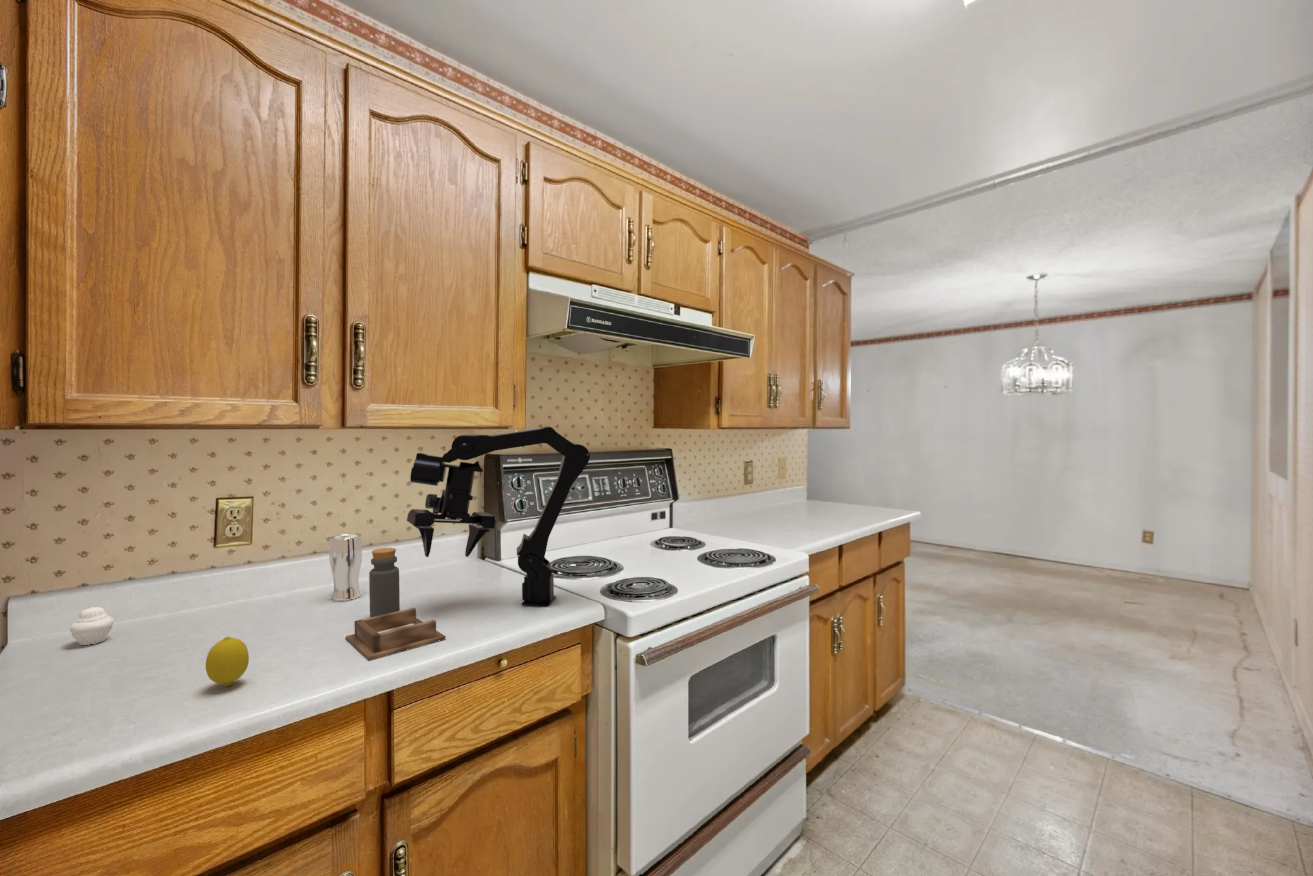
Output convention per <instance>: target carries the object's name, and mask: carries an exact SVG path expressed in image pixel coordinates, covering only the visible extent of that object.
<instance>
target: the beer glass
mask: <svg viewBox="0 0 1313 876" xmlns="http://www.w3.org/2000/svg"><path fill="white" fill-rule="evenodd" d="M362 546H363V545H362V537H361V534H360V533H359V534H358V533H345V534H338V535H333V536H331V537H329V551H328V554H329V558H328V559H329V565H330V569H331V575H332V579H333V580H332V581H333V592H332V596H331V599H333V600H332V601H334V600H335V601H334V602H348V601H347V600H349V601H351V600H350V599H353V600H356V599H358V597H359V598H360V597H361V594H362V593H361V589H360V583H359V582H360V581H359V579H360V571H361V566H362V560H363V559H362V558H363V547H362ZM355 598H356V599H355Z"/></svg>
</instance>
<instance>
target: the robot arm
mask: <svg viewBox="0 0 1313 876" xmlns="http://www.w3.org/2000/svg"><path fill="white" fill-rule="evenodd" d="M540 444H547V445H548V446H550V447H551V449H553V450H555V451H556V452H558V453H559V454H560V455H562V456H561V461H560V465H559V469H558V470H559V471H558V476H557V477H556V480H555V483H554V485H553V487H552V489H551V491H550V493H549V496H548V498H547V500H546V502H545V504H544V506H543V509H542V511H541V513H540V516H539V518H538V519H537V521H536V524H535V527H534V528H533V530H532V532H531V533H530V534H529V535H527V534H526V533H523V535H522V539H521V540H520V541H521V542H520V544H519V545H518V546H517V547H516V556H517V565H518V568H519V570H521V571H522V572H523V573H526V575H525V576H523V582H522V583H521V600H522V602H521V605H522V606H536V607H537V606H540V607H541V606H542V607H549V606H550V605H551V604H552V603H553V602H554V600H556V598H557V595H555V593H554V590H555V587H554V586H555V585H554V584H555V582H554V578H555V577H554V574H553V570H552V569H553V568H552V565H551V562H550V560H548V559H547V558H546V557H545V556H546V551H547V548H548V544H549V543H548V542H549V538H550V535H551V534H552V531H553V528H554V527H555V524H556V522H557V521H558V517H559V515H560V513H561V511H562V509H563V507H564V504H565V502H566V500H567V497H568V496H569V493H570V491H571V489H572V486H573V484H574V483H575V481H576V480H577V479H578V478H579V476H580V475H581V474H582V472H583V471H584V470H585V468H586V466H587V465H588V463H589V462H590V460H591V459H590V458H591V457H590V456H591V455H590V452H589V449H588V448H587V447H586V446H585V445H582V444H579V443H573V442H571V441H570V440H568V439H567V438H566V437H564V436H563V435H561V434H560V433H559V432H557V431H556V430H555V429H554V428H553V427H552V426H542V427H540V428H532V429H528V430H527V429H526V430H520V431H514V432H513V431H512V432H507V433H506V432H505V433H499V434H468V433H467V434H461V435H458V436H456V437H455V439H454V440H453V441H452V444H451V448H450V449H449V450H448V451H447V452H444V453H443V455H442V456H437V455H431V454H430V455H429V454H426V453H423V452H417V453H416V455H415V460H414V462H413V465H412V467H411V470H410V478H409V479H410V483H413V484H420V485H427V486H434V487H435V486H436V487H437V486H438V485H439V483H440V482H441V483H444V482H446V483H445V489H443V490H442V493H441V496H440V497H438V494H435V493H429V494H426V497H425V503H424V504H425V507H424V508H425V509H417V508H411V509H410V510H409V511H408V513H407V517H406V522H408V523H409V524H411V525H412V526H413V527H415V528H416V529H417V530H418V531H419V533H420V537H421V541H422V547H423V552H424V556H425V557H426V558H428V557H429V556H430V553H431V551H432V550H431V548H432V543H433V537H434V530H435V528H434V527H432V526H433V524H435V523H439V524H440V523H441V524H443V523H444V524H468V530H469V531H468V537H467V541H466V546H465V553H464V555H465V557H467V558H468V557H469V556H470V555H471V553H472V552H473V550H474V549H475V547H476V546H477V544H478V543H480V541H481V539H482V538H483V537H484V535H485V534H486V533H490V531H491V529H492V530H493V529H496V528H497V522H498V521H497V518H496V516H495V515H493V514H491V513H489V512H482V511H478V512H477V511H473V512H472V514H471V513H469V509H470V502H471V501H473V499H474V496H473V494H472V490H473V485H474V479H475V473H483V472H485V471H484V470H485V468H483V466H482V465H481V463H480V460H476V461H475V462H474V463H472V462H465V461H468V460H469V461H470V460H472V459H475V458H477V457H481V456H484V455H487V454H490V453H492V452H495V451H500V450H509V449H514V448H520V447H527V446H534V445H535V446H536V445H540ZM457 460H460V463H459V465H458V464H449V463H452V462H455V461H457ZM447 468H448V470H447ZM446 473H447V477H446ZM445 478H446V481H445ZM428 509H431V510H432V512H431V511H430V510H428Z"/></svg>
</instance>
